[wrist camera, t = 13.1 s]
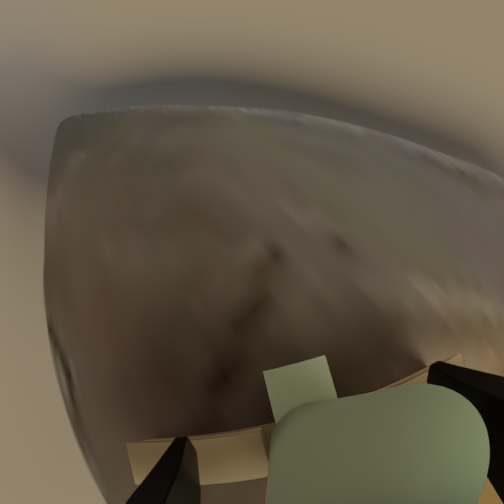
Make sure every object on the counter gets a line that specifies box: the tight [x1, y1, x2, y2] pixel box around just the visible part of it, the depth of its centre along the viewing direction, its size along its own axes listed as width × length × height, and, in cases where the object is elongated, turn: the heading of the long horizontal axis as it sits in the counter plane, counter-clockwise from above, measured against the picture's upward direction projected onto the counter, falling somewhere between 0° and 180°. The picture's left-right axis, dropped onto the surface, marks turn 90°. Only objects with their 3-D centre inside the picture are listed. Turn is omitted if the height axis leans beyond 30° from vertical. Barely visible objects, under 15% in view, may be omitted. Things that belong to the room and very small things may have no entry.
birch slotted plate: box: [126, 353, 465, 485], centre depth 12 cm, size 2×18×4 cm, turn 102°
